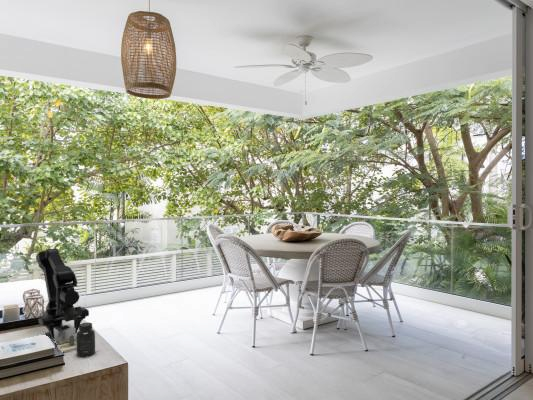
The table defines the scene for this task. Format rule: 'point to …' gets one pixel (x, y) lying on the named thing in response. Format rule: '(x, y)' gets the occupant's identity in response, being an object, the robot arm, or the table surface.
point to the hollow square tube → (64, 334)
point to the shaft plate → (69, 345)
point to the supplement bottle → (85, 340)
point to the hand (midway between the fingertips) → (64, 336)
